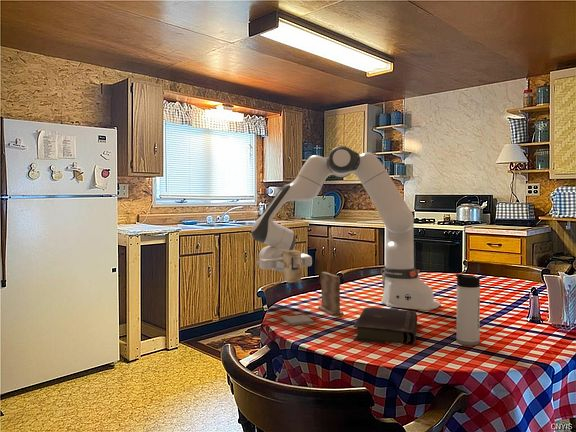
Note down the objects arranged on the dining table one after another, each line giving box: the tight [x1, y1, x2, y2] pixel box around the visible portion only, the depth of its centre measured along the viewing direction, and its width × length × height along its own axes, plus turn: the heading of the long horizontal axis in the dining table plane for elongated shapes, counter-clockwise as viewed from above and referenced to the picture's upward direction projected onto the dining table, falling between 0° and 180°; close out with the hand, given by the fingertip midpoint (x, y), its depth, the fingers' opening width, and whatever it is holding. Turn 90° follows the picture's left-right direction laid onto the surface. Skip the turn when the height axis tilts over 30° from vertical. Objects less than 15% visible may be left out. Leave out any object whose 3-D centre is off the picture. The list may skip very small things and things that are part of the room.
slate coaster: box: [282, 314, 314, 326], centre depth 158 cm, size 8×8×1 cm
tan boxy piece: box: [282, 249, 302, 284], centre depth 167 cm, size 5×5×11 cm
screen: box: [317, 271, 344, 317], centre depth 171 cm, size 12×4×14 cm, turn 21°
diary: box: [353, 306, 418, 346], centre depth 146 cm, size 19×25×5 cm
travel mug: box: [455, 273, 481, 346], centre depth 133 cm, size 6×7×20 cm
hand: (292, 264), depth 166 cm, fingers closed on tan boxy piece, 5 cm apart
